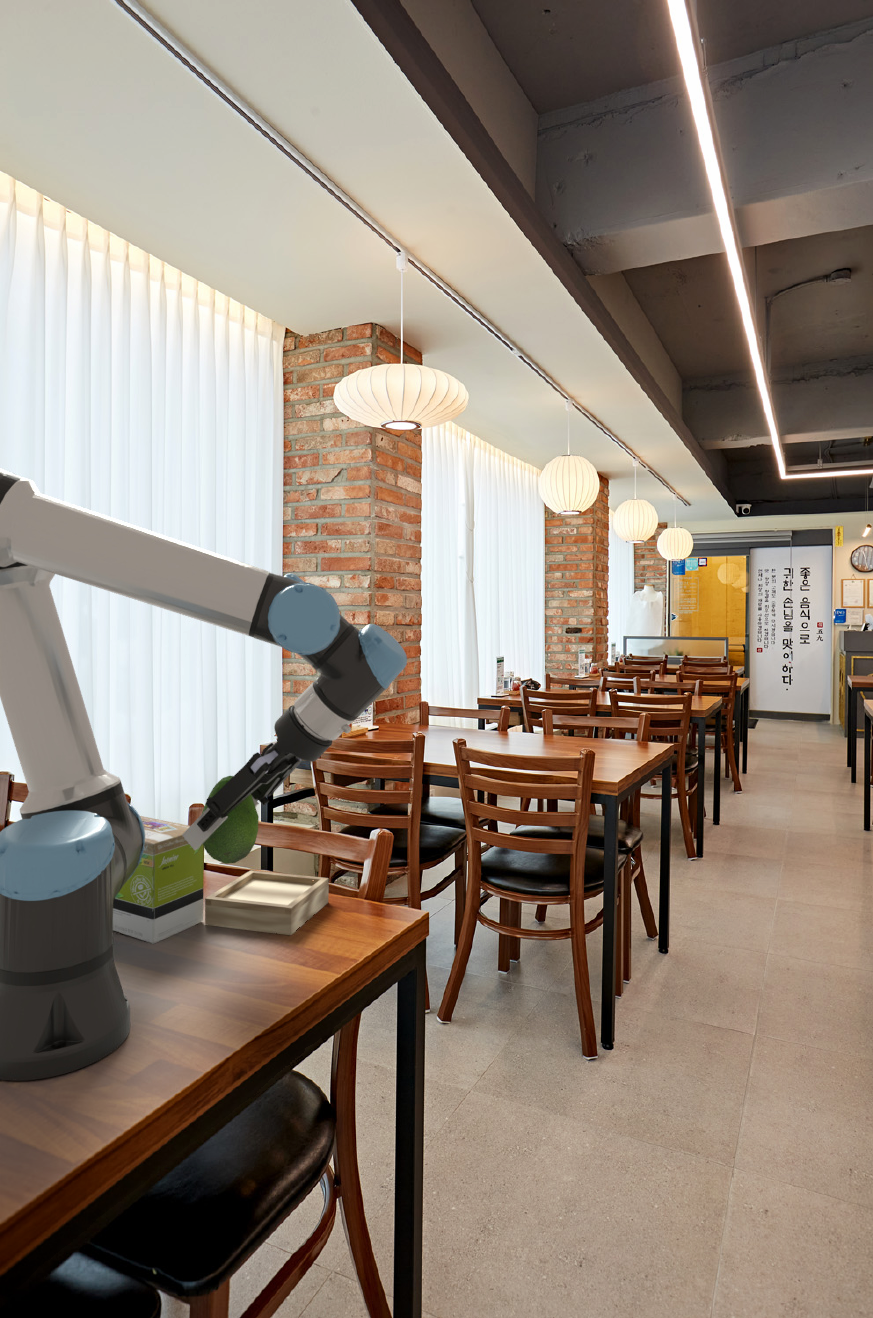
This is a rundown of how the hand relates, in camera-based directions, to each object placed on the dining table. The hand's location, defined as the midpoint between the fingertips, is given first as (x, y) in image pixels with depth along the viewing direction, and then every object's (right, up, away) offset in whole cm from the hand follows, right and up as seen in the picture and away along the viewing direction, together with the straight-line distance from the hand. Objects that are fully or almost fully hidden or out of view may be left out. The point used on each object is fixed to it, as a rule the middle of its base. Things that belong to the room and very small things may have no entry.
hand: (207, 833), depth 106 cm
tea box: (-12, -16, +8) cm, 21 cm away
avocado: (+3, -4, -1) cm, 5 cm away
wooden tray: (+6, -15, +13) cm, 21 cm away
